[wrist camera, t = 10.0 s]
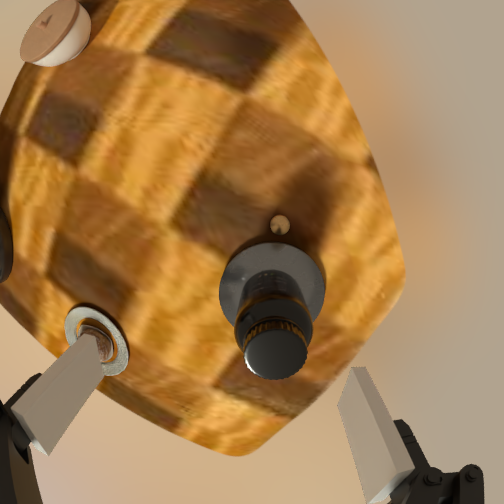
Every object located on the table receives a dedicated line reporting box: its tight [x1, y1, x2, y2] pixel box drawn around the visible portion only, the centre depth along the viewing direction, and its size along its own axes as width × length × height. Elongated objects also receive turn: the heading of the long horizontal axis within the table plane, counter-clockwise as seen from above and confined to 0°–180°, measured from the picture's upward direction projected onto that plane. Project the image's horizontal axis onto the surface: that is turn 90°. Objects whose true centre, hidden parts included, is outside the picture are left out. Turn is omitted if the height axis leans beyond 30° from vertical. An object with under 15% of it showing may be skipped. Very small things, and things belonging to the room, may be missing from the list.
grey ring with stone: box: [65, 307, 128, 375], centre depth 33 cm, size 12×12×5 cm
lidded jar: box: [20, 0, 91, 67], centre depth 20 cm, size 11×11×9 cm
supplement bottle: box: [234, 270, 313, 380], centre depth 25 cm, size 7×7×12 cm
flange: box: [219, 214, 325, 326], centre depth 31 cm, size 12×18×2 cm, turn 175°
